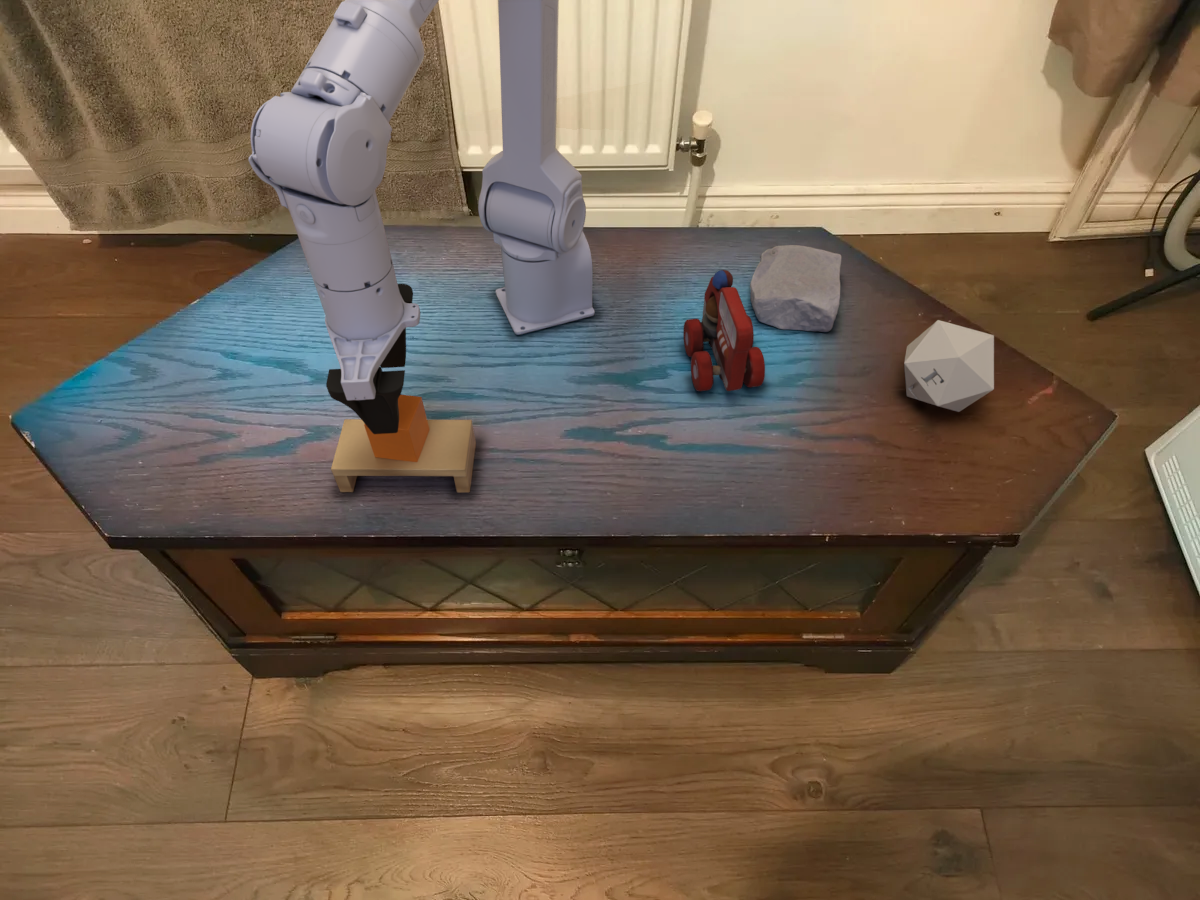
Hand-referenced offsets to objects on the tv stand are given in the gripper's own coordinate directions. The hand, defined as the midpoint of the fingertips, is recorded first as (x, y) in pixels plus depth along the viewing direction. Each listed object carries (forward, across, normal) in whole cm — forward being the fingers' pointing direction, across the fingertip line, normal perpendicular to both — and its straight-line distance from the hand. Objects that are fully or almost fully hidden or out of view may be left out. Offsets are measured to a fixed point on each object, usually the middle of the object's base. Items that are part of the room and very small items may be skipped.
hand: (389, 396), depth 66 cm
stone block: (+10, +22, -42) cm, 49 cm away
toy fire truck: (+10, +12, -32) cm, 35 cm away
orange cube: (+6, 0, 0) cm, 6 cm away
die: (+10, +6, -54) cm, 55 cm away
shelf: (+10, 0, 0) cm, 10 cm away
